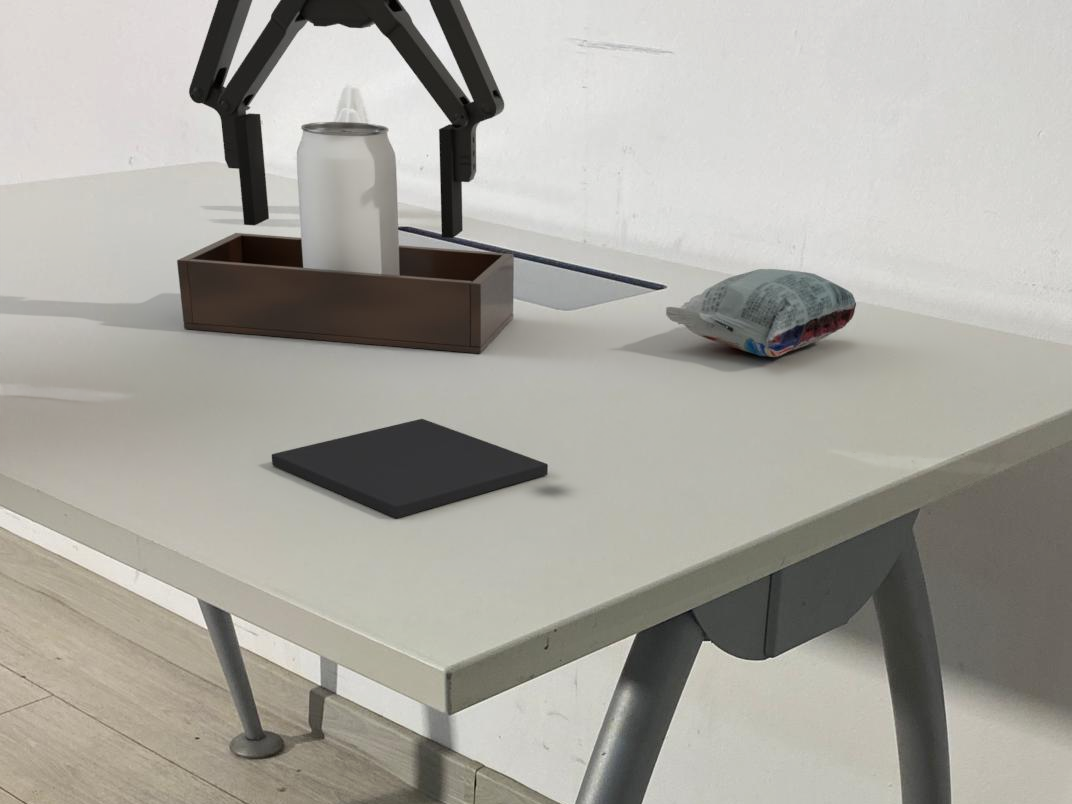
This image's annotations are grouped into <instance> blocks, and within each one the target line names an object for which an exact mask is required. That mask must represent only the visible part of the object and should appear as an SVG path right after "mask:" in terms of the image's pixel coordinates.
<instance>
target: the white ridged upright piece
mask: <svg viewBox="0 0 1072 804" xmlns="http://www.w3.org/2000/svg"><path fill="white" fill-rule="evenodd" d="M332 122H354V123H367V124H371V122H370V119H369V114H368V111H367V107H366V104H365V101H364V98H363V95H362V93H361V90H360V88H359V86H357V85H355V84H353V85H352V84H344V86H343V87H342V89H341V92H340V94H339V96H338V100H337V104H336V107H335V110H334V115H333V121H332Z"/></svg>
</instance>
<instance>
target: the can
mask: <svg viewBox="0 0 1072 804" xmlns="http://www.w3.org/2000/svg"><path fill="white" fill-rule="evenodd" d="M300 128H301V131H302V136H301V139H300V141H299V144H298V147H297V149H296V173H297V190H298V191H297V192H298V207H299V224H300V238H301V241H302V257H303V268H311V269H324V270H337V271H349V272H362V273H375V274H387V275H400V273H399V245H400V243H399V242H400V241H399V239H400V238H399V209H398V179H397V159H396V152H395V150H394V148H393V146H392V144H391V141H390V139H389V136H388V132H389V131H390V130H389V128H388V127H387V126H384V125H381V124H375V123H370V124H367V123H354V122H333V121H322V122H321V121H320V122H309V123H305V124H302V125H301V127H300Z"/></svg>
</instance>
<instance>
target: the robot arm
mask: <svg viewBox="0 0 1072 804" xmlns="http://www.w3.org/2000/svg"><path fill="white" fill-rule="evenodd" d="M428 1H429V3H430V6H431V8H432V11H433V13H434V15H435V17H436V19H437V22H438V24H439V27H440V29H441V31H442V33H443V36H444V38H445V40H446V42H447V44H448V47H449V49H450V51H451V54H452V55H453V58H454V60H455V62H456V65H457V67H458V69H459V72H460V73H461V76H462V78H463V81H464V83H465V85H466V87H467V90H468V92H469V94H470V96H471V98H472V101H471V100H470V99H469V97H468V96H467V95H466V94H465V92H464V90H463V89H462V88H461V87H460V85H459V84H458V82H457V81H456V80H455V78H454V77H453V76H452V74H451V73H450V72H449V70H448V68H446V67H445V64H444V63H443V62H442V60H441V59H440V57H438V55H437V54H436V52H435V50H433V48H432V47H431V46H430V45H429V43H428V41H427V40H426V39H425V38H424V36H423V34H422V33H421V32H420V31H419V29H418V28H417V27H416V25H415V24H414V22H413V20H412V17H411V15H410V14H409V11H407V10H406V8H405V6H404V5H403V4H402V3H401V1H400V0H279V1H278V3H277V5H276V6H275V8H274V9H273V11H272V13H271V15H270V19H269V21H268V22H267V24H266V25H265V27H264V28H263V30H262V32H261V33H260V35H259V36H258V38H257V39H256V41H255V42H254V43H253V45H252V47H251V48H250V50H249V51H248V53H247V54H246V56H244V59H243V60H242V61H241V63H240V65H239V66H238V68H237V70H236V71H235V72H234V74H233V75H232V76H231V79H230V80H229V82H228V83H227V85H226V86H224V85H225V82H226V80H227V76H228V74H229V70H230V68H231V64H232V62H233V59H234V56H235V53H236V50H237V47H238V44H239V41H240V39H241V35H242V33H243V30H244V26H245V24H246V21H247V18H248V15H249V12H250V9H251V7H252V3H253V0H217V2H216V5H215V8H214V12H213V15H212V18H211V21H210V24H209V28H208V30H207V33H206V36H205V40H204V42H203V45H202V49H201V51H200V55H199V57H198V60H197V64H196V67H195V70H194V73H193V76H192V79H191V82H190V85H189V89H188V95H189V97H190V99H191V100H192V101H193V102H194V103H196V104H202V105H204V106H208V107H209V108H211V109H213V110H215V111H216V112H217V113H218V115H219V118H220V122H221V133H222V143H223V150H224V151H223V154H224V161H225V163H226V165H227V168H228V169H237V170H238V174H239V182H240V194H241V195H240V196H241V204H242V205H241V206H242V217H243V225H244V226H256V225H259V224H261V223H263V222H265V221H267V220H269V219H270V215H269V214H270V213H269V202H268V190H267V180H266V179H267V178H266V167H265V156H264V143H263V131H262V122H261V121H262V120H261V114H260V113H247V111H249V110H250V109H251V106H250V104H251V103H252V102H253V100H254V99H255V97H256V95H258V93H259V91H260V90H261V88H262V87H263V85H264V84H265V82H266V81H267V79H268V78H269V76H270V75H271V73H272V72H273V70H274V69H275V67H276V66H277V65H278V63H279V61H280V60H281V58H282V57H283V55H284V54H285V53H286V51H287V50H288V48H289V46H290V45H291V43H293V41H294V39H295V38H296V36H297V34H298V33H299V32H300V31H301V30H302V29H303V28H304V27H305V26H306V25H307V23H308V22H309V23H311V24H312V25H313V27H324V28H325V27H329V26H336V25H341V26H343V27H347V28H349V29H366V28H371V26H373V25H375V26H376V27H377V29H378V30H379V31H380V33H381V34H382V35H383V36H384V37H386V38H387V39H388V40H389V41H390V42H391V44H392V45H393V46H394V48H395V49H396V51H397V52H398V53H399V55H400V56H401V57H402V59H403V60H404V62H405V63H406V64H407V66H408V67H409V68H410V70H411V71H412V72H413V73H414V75H415V76H416V77H417V79H418V80H419V82H420V83H421V84H422V86H423V87H424V89H425V90H426V91H427V93H428V94H429V95H430V97H431V98H432V99H433V101H434V102H435V104H436V105H437V106H438V107H439V109H440V110H441V112H442V113H443V114H444V116H445V117H446V118H447V120H448V121H449V122H450V124H447V125H444V126H443V127H441V128H439V129H438V141H439V145H438V146H439V147H438V148H439V173H440V174H439V179H440V182H439V184H440V219H441V220H440V221H441V238H445V239H453V238H455V237H456V236H458V235H459V234H460V233H462V232H463V183H470V182H471V181H473V180H474V179H475V176H476V173H477V128H478V126H479V124H480V123H481V122H484V121H486V120H489V119H493V118H494V117H497V116H498V115H500V114H501V113H502V112H504V109H505V101H504V98H503V96H502V94H501V91H500V89H499V86H498V84H497V82H496V80H495V77H494V75H493V73H492V71H491V69H490V66H489V64H488V62H487V58H486V57H485V54H484V52H483V50H482V48H481V47H482V46H481V45H480V42H479V41H478V39H477V36H476V34H475V32H474V29H473V27H472V24H471V22H470V20H469V17H468V16H467V13H466V11H465V8H464V6H463V4H462V2H461V0H428Z"/></svg>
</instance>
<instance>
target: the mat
mask: <svg viewBox="0 0 1072 804" xmlns="http://www.w3.org/2000/svg"><path fill="white" fill-rule="evenodd" d="M271 465H272V466H274V467H275V468H278V469H280V470H283V471H285V472H288V473H290V474H292V475H294V476H296V477H299V478H302V479H304V480H306V481H309V482H311V483H313V484H315V485H318V486H320V487H323V488H325V489H328V490H330V491H332V492H334V493H337V494H338V495H341V496H344V497H346V498H348V499H350V500H352V501H355V502H357V503H360V504H362V505H365V506H366V507H369V508H372V509H374V510H376V511H378V512H381V513H383V514H385V515H388V516H390V517H392V518H394V519H400V518H402V517H406V516H411V515H413V514H416V513H419V512H424V511H426V510H427V511H428V510H430V509H434V508H437V507H440V506H444V505H448V504H450V503H454V502H459V501H461V500H462V501H463V500H466V499H469V498H471V497H472V498H473V497H475V496H478V495H482V494H485V493H490V492H492V491H496V490H499V489H503V488H505V487H509V486H514V485H516V484H520V483H523V482H527V481H531V480H534V479H537V478H541V477H544V476H547V475H548V471H549V470H548V469H549V465H548V463H546V462H544V461H541V460H538V459H534V458H532V457H530V456H527V455H524V454H522V453H520V452H519V453H518V452H515V451H513V450H510V449H507V448H505V447H502V446H499V445H496V444H494V443H491V442H488V441H485V440H483V439H479V438H477V437H474V436H472V435H468V434H466V433H463V432H460V431H458V430H454V429H452V428H449V427H447V426H444V425H441V424H438V423H436V422H432V421H429V420H427V419H424V418H420V419H416V420H411V421H405V422H402V423H398V424H393V425H390V426H385V427H381V428H377V429H372V430H368V431H363V432H359V433H356V434H355V433H354V434H351V435H347V436H343V437H337V438H334V439H330V440H325V441H321V442H317V443H314V444H308V445H305V446H300V447H297V448H292V449H287V450H284V451H280V452H274V453H271Z"/></svg>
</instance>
